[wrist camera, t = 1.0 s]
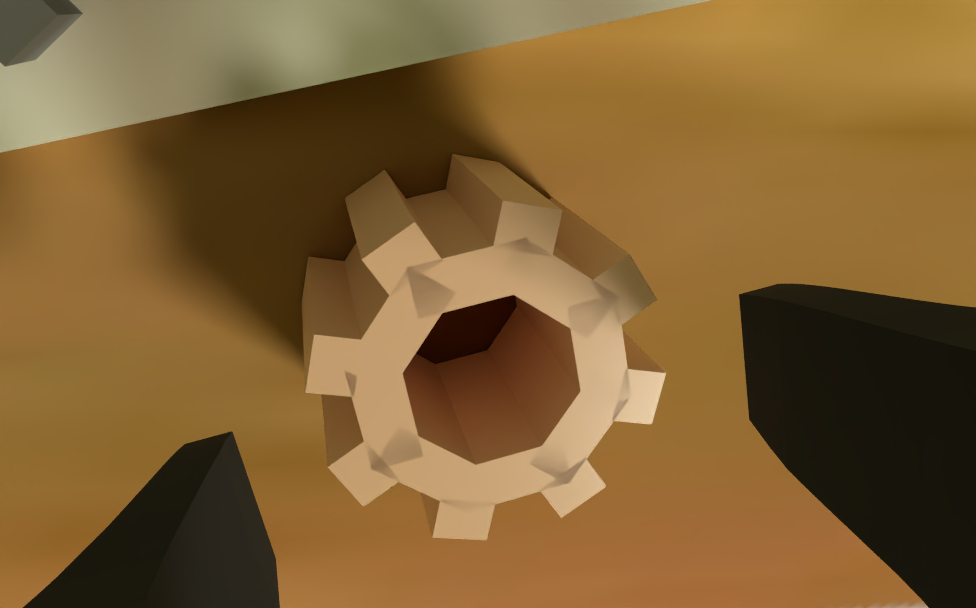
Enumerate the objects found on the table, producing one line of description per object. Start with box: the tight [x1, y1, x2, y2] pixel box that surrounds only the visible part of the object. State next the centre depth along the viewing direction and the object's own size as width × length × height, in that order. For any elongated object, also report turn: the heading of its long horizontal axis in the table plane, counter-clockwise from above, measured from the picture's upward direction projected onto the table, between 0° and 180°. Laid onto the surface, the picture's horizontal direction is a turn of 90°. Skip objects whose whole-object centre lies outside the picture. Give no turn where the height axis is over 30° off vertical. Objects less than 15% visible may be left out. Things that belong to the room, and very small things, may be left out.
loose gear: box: [302, 154, 666, 540], centre depth 15 cm, size 5×5×4 cm
